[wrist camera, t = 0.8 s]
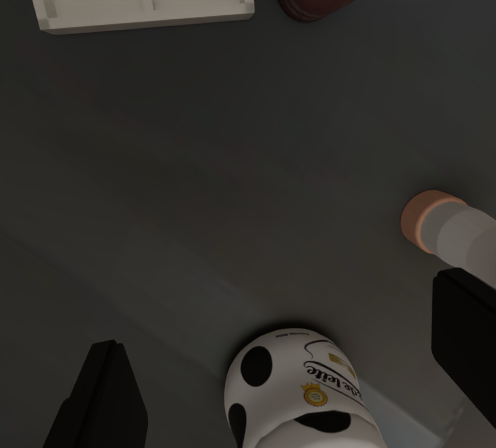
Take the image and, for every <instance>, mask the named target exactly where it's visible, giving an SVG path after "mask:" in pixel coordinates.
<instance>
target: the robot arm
mask: <svg viewBox="0 0 496 448" xmlns="http://www.w3.org/2000/svg"><path fill="white" fill-rule="evenodd" d="M431 349H432V354H433V356H434V358H435V360H436V361H437V362H438V364H439V365H440V366H441V367H442V368H443V369H444V370H445V372H446V373H447V374H448V375H449V376H450V377H451V378H452V380H453V381H454V382H455V383H456V384H457V385H458V387H459V388H460V389H461V390H462V391H463V392H464V393H465V395H466V396H467V397H468V398H469V399H470V400H471V401H472V403H473V404H474V405H475V406H476V407H477V408H478V409H479V411H480V412H481V413H482V414H483V415H484V416H485V417H486V419H487V420H488V421H489V422H490V423H491V424H492V426H493V427H494V428H495V429H496V291H495V290H494V289H492V288H491V287H489V286H488V285H486V284H485V283H483V282H482V281H480V280H479V279H477V278H476V277H474V276H473V275H472V274H470V273H469V272H467V271H466V270H464V269H463V268H460V267H456V268H451V269H446V270H442V271H439V272H438V274H437V277H434V279H433V295H432V340H431ZM147 428H148V416H147V411H146V408H145V405H144V403H143V400H142V397H141V394H140V391H139V388H138V385H137V383H136V380H135V377H134V374H133V371H132V368H131V365H130V362H129V360H128V357H127V354H126V351H125V348H124V346H123V344H122V343H119V344H117V343H116V341H115V340H108V341H104V342H99V343H94V344H92V346H91V348H90V350H89V353H88V355H87V357H86V360H85V362H84V364H83V367H82V369H81V371H80V374H79V376H78V379H77V381H76V383H75V386H74V388H73V390H72V393H71V395H70V397H69V398H67V399H66V400H65V401H64V402H63V403H62V405H61V407H60V409H59V412H58V414H57V416H56V418H55V421H54V423H53V425H52V427H51V430H50V432H49V434H48V437H47V439H46V441H45V443H44V446H43V448H144V447H145V440H146V434H147Z"/></svg>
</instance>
